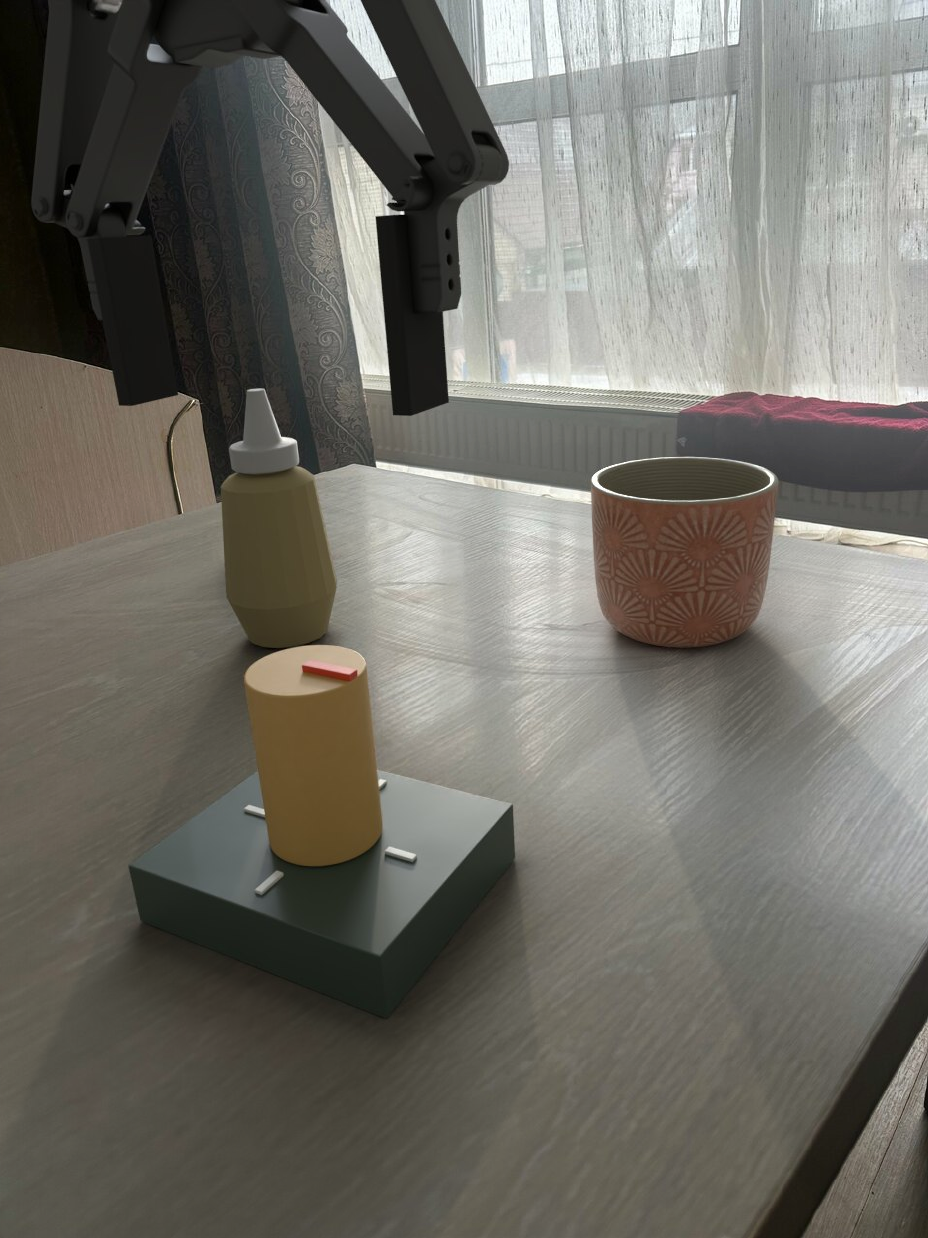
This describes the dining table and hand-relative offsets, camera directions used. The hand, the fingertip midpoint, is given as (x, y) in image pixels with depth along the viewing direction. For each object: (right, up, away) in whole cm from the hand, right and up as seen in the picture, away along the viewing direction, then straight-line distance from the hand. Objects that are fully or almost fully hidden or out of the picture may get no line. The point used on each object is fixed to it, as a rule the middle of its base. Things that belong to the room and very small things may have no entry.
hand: (274, 405), depth 38 cm
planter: (+23, -9, +31) cm, 40 cm away
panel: (+2, -21, +6) cm, 22 cm away
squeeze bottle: (-6, -10, +34) cm, 36 cm away
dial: (+1, -18, +5) cm, 19 cm away
